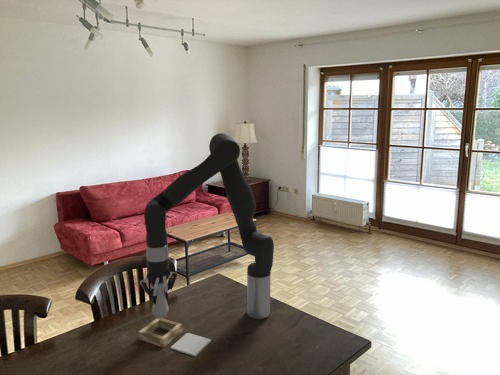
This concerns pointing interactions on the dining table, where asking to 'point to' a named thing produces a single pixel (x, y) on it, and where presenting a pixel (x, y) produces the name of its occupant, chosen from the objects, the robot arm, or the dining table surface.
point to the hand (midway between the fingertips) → (159, 302)
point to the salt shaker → (160, 303)
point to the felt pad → (191, 344)
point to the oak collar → (155, 339)
